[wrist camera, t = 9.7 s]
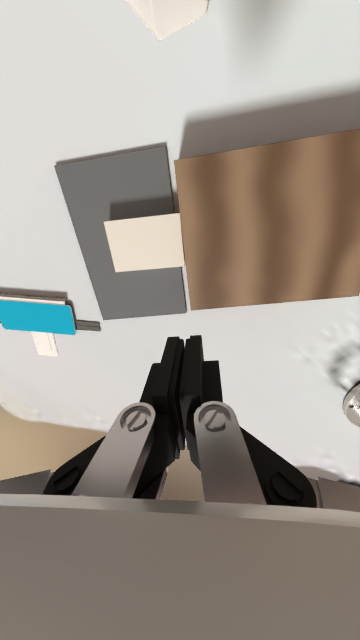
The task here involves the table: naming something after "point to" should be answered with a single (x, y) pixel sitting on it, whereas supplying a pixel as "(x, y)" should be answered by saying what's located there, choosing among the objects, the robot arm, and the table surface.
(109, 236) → the cream flat block
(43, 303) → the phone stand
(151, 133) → the table surface
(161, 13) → the jar
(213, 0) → the table surface
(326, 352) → the table surface
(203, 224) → the platform
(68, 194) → the mat
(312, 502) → the robot arm
